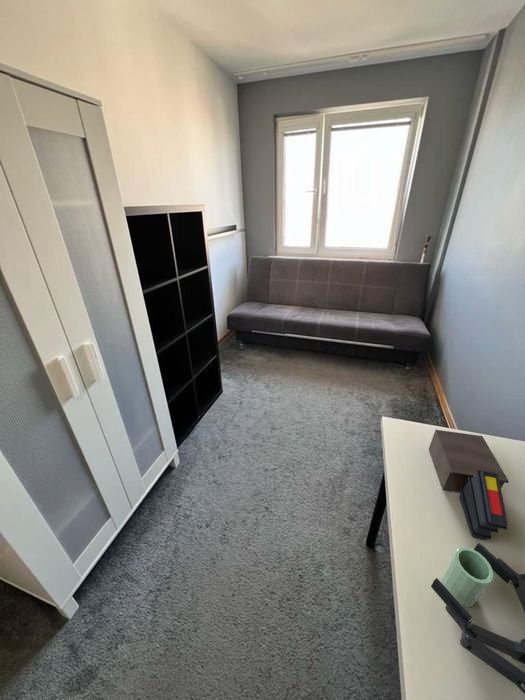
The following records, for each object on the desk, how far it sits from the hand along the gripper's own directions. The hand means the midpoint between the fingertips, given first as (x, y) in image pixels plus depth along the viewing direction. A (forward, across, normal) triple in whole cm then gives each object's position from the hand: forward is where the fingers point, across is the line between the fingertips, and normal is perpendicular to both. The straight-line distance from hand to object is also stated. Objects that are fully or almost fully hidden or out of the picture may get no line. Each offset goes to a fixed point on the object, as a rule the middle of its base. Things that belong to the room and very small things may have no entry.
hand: (455, 563), depth 57 cm
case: (+15, +28, -6) cm, 32 cm away
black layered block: (+4, +17, -6) cm, 18 cm away
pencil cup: (-2, 0, -6) cm, 6 cm away
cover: (+15, +27, +2) cm, 31 cm away
